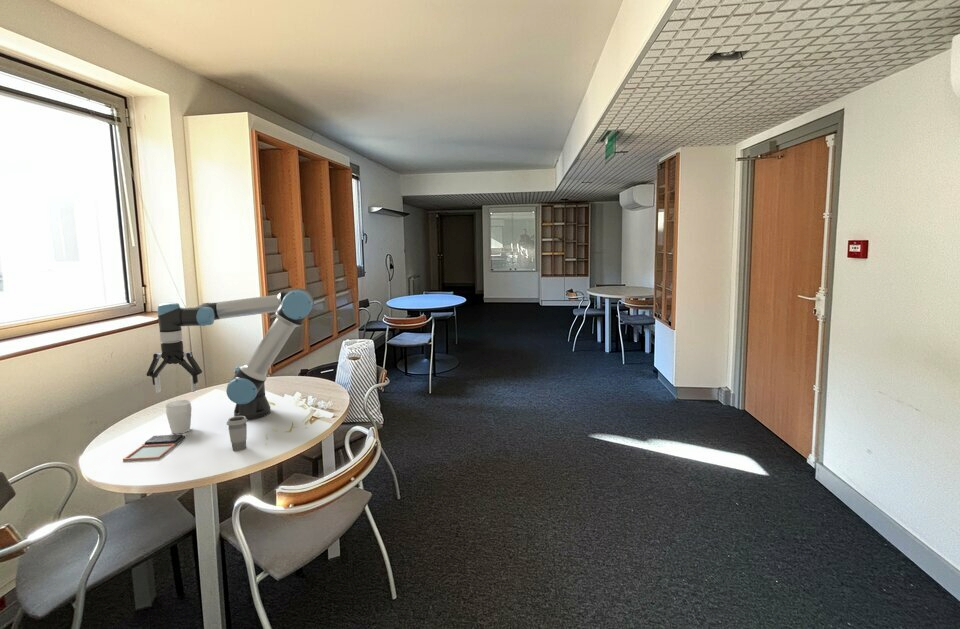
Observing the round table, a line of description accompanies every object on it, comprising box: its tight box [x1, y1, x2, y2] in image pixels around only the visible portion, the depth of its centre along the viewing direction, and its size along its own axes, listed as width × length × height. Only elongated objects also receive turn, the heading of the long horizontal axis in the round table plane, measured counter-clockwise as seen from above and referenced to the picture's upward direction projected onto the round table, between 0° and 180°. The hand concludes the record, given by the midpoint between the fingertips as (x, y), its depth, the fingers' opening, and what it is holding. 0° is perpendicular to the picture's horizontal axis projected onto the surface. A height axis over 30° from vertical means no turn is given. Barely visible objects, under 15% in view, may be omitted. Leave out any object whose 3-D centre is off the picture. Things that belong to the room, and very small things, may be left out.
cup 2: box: [226, 416, 248, 452], centre depth 181 cm, size 7×7×12 cm
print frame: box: [122, 444, 177, 463], centre depth 178 cm, size 12×12×1 cm
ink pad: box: [141, 433, 186, 446], centre depth 188 cm, size 12×8×2 cm, turn 97°
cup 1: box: [165, 399, 192, 435], centre depth 199 cm, size 9×9×12 cm
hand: (176, 391), depth 197 cm, fingers open, 13 cm apart
